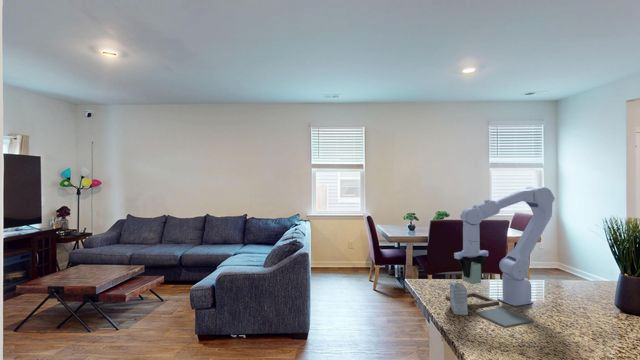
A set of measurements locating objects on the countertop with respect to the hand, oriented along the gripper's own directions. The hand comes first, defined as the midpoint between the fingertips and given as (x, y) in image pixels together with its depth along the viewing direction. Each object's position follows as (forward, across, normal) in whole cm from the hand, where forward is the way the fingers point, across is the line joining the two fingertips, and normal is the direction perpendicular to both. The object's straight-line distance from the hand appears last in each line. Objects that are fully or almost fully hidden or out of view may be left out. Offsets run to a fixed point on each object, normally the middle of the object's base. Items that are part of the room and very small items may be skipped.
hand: (471, 276), depth 129 cm
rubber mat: (+9, +2, +16) cm, 19 cm away
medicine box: (+10, +12, +6) cm, 16 cm away
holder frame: (+9, 0, 0) cm, 9 cm away
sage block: (+2, 0, 0) cm, 2 cm away
